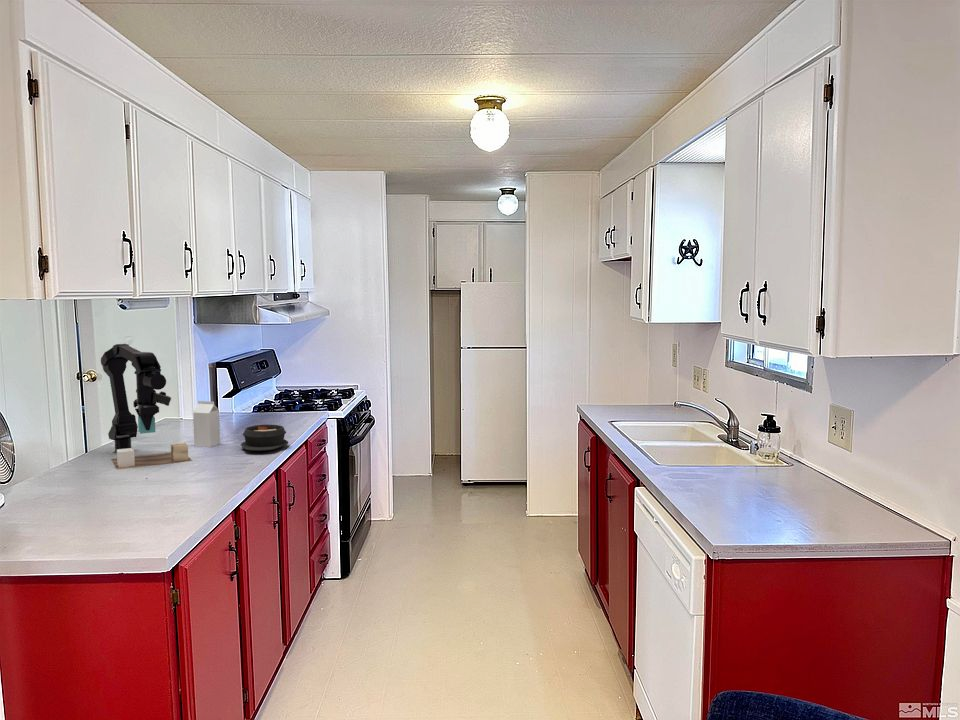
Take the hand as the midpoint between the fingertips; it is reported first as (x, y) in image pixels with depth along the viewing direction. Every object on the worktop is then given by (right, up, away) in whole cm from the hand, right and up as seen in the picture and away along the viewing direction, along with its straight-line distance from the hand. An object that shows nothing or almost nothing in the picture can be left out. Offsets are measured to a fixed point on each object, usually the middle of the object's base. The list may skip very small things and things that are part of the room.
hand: (146, 429), depth 263 cm
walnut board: (+2, -13, 0) cm, 13 cm away
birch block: (+12, -11, +2) cm, 16 cm away
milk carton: (+12, -10, +26) cm, 31 cm away
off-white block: (-4, -12, -8) cm, 15 cm away
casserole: (+35, -11, +27) cm, 46 cm away
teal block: (0, -1, 0) cm, 1 cm away
